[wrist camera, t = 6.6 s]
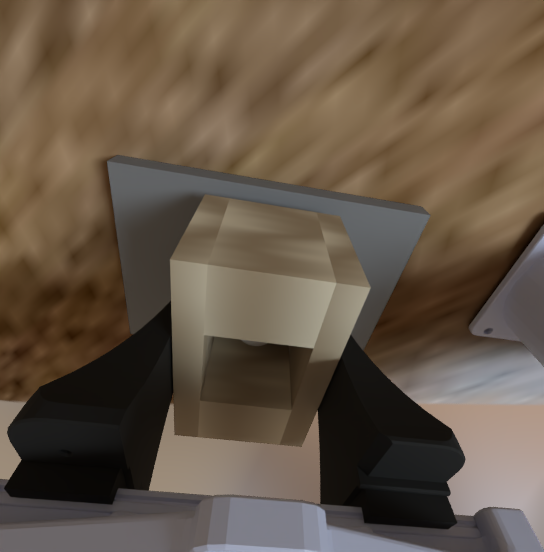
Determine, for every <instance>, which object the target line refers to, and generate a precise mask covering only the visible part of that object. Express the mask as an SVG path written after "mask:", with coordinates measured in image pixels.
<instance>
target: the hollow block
mask: <svg viewBox="0 0 544 552" xmlns="http://www.w3.org/2000/svg"><path fill="white" fill-rule="evenodd" d="M170 277H171V315H172V353H173V392H174V430H175V435H181V436H192V437H203V438H213V439H224V440H235V441H245V442H256V443H267V444H277V445H288V446H299V447H302V444H303V442H304V440H305V438H306V435H307V433H308V431H309V428H310V426H311V424H312V422H313V419H314V417H315V415H316V412H317V410H318V408H319V405H320V403H321V401H322V399H323V396H324V394H325V392H326V389H327V387H328V385H329V383H330V380H331V378H332V376H333V373H334V371H335V369H336V367H337V364H338V362H339V360H340V357H341V355H342V353H343V350H344V348H345V346H346V344H347V341H348V339H349V337H350V334H351V332H352V330H353V328H354V325H355V323H356V321H357V318H358V316H359V314H360V311H361V309H362V307H363V305H364V302H365V300H366V298H367V295H368V293H369V291H370V289H371V287H370V285H369V283H368V280H367V278H366V276H365V273H364V271H363V269H362V266H361V264H360V262H359V259H358V257H357V255H356V252H355V250H354V248H353V245H352V243H351V241H350V238H349V236H348V234H347V231H346V229H345V227H344V224H343V222H342V220H341V217H340V216H336V215H330V214H324V213H318V212H311V211H305V210H299V209H293V208H287V207H281V206H274V205H268V204H262V203H256V202H250V201H244V200H237V199H231V198H225V197H219V196H213V195H206V194H205V195H204V197H203V199H202V201H201V203H200V205H199V207H198V208H197V210H196V212H195V214H194V216H193V218H192V220H191V221H190V223H189V225H188V227H187V229H186V231H185V233H184V234H183V236H182V238H181V240H180V242H179V244H178V246H177V247H176V249H175V251H174V253H173V255H172V257H171V259H170ZM241 340H248V341H257V342H265V343H267V344H265V345H262V346H251V345H248V344H246V343H244V342H243V341H241Z"/></svg>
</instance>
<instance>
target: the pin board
mask: <svg viewBox="0 0 544 552" xmlns="http://www.w3.org/2000/svg"><path fill="white" fill-rule="evenodd" d="M107 165H108V173H109V180H110V187H111V195H112V202H113V209H114V217H115V224H116V231H117V239H118V246H119V253H120V261H121V268H122V275H123V283H124V290H125V298H126V305H127V312H128V320H129V327H130V334H135V333H136V332H137V331H138V330H140V329H141V328H142V327H143V326H144V325H145V324H147V323H148V322H149V321H150V320H151V319H152V318H153V317H155V316H156V315H157V314H158V313H159V312H160V311H161V310H162V309H163V308H164V307H165V306H166V305H167V304H168V303H169V302H170V301H171V277H170V259H171V257H172V255H173V253H174V251H175V249H176V247H177V246H178V244H179V242H180V240H181V238H182V236H183V234H184V233H185V231H186V229H187V227H188V225H189V223H190V221H191V220H192V218H193V216H194V214H195V212H196V210H197V208H198V207H199V205H200V203H201V201H202V199H203V197H204V195H205V194H206V195H213V196H219V197H225V198H231V199H237V200H244V201H250V202H256V203H262V204H268V205H274V206H281V207H287V208H293V209H299V210H305V211H311V212H318V213H324V214H330V215H336V216H340V217H341V220H342V222H343V224H344V227H345V229H346V231H347V234H348V236H349V238H350V241H351V243H352V245H353V248H354V250H355V252H356V255H357V257H358V259H359V262H360V264H361V266H362V269H363V271H364V273H365V276H366V278H367V280H368V283H369V285H370V287H371V289H370V291H369V293H368V295H367V298H366V300H365V302H364V305H363V307H362V309H361V311H360V314H359V316H358V318H357V321H356V323H355V325H354V328H353V330H352V332H351V335H352V336H353V338H354V339H355V341H356V342H357V343H358V345H359V346H360V347H361V349H362V350H364V348H365V346H366V344H367V342H368V340H369V338H370V336H371V334H372V332H373V330H374V328H375V326H376V324H377V322H378V320H379V318H380V316H381V314H382V312H383V310H384V308H385V306H386V304H387V302H388V300H389V298H390V296H391V294H392V292H393V290H394V288H395V286H396V284H397V282H398V280H399V278H400V276H401V274H402V272H403V270H404V268H405V266H406V264H407V262H408V260H409V258H410V255H411V253H412V251H413V249H414V247H415V245H416V243H417V241H418V239H419V237H420V235H421V233H422V231H423V229H424V227H425V225H426V223H427V221H428V219H429V217H430V214H429V213H428V212H427V211H426V210H425V209H424V208H423V207H421V206H415V205H409V204H403V203H397V202H391V201H386V200H380V199H374V198H368V197H362V196H356V195H350V194H344V193H338V192H333V191H327V190H321V189H315V188H309V187H303V186H297V185H291V184H285V183H279V182H274V181H268V180H262V179H256V178H250V177H244V176H238V175H232V174H226V173H221V172H215V171H209V170H203V169H197V168H191V167H185V166H179V165H173V164H167V163H162V162H156V161H150V160H144V159H138V158H132V157H126V156H120V155H116V156H115V157H113V158H111V159H110V160H108V161H107ZM241 341H243V342H244V343H246V344H248V345H251V346H262V345H265V344H267V343H265V342H257V341H248V340H241Z"/></svg>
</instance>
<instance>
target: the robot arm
mask: <svg viewBox="0 0 544 552" xmlns="http://www.w3.org/2000/svg"><path fill="white" fill-rule="evenodd" d="M469 330H470V332H471V333H472V334H473V335H476V336H484V337H491V338H499V339H506V340H514V341H521V342H522V343H523V344H524V345H525V346H526V347H527V348H528V350H529V351H530V352H531V353H532V354H533V355H534V356H535V357H536V359H537V360H538V361H539V362H540V363H541V364H542V365H543V367H544V225H543V226H542V227H541V229H540V230H539V232H538V233H537V234H536V236H535V237H534V238H533V240H532V241H531V242H530V244H529V245H528V246H527V248H526V249H525V251H524V252H523V253H522V255H521V256H520V257H519V259H518V260H517V261H516V263H515V264H514V265H513V267H512V268H511V270H510V271H509V272H508V274H507V275H506V276H505V278H504V279H503V280H502V282H501V283H500V284H499V286H498V287H497V289H496V290H495V291H494V293H493V294H492V295H491V297H490V298H489V299H488V301H487V302H486V304H485V305H484V306H483V308H482V309H481V310H480V312H479V313H478V314H477V316H476V317H475V318H474V320H473V321H472V323H471V324H470V325H469ZM172 395H173V353H172V315H171V301H170V302H169V303H168V304H167V305H166V306H165V307H164V308H163V309H162V310H161V311H160V312H159V313H158V314H157V315H156V316H155V317H153V318H152V319H151V320H150V321H149V322H148V323H147V324H145V325H144V326H143V327H142V328H141V329H140V330H138V331H137V332H136V333H135V334H133V335H132V336H131V337H129V338H128V339H127V340H125V341H124V342H123V343H121V344H120V345H118V346H117V347H115V348H114V349H112V350H111V351H109V352H108V353H106V354H104V355H103V356H101V357H99V358H98V359H96V360H94V361H92V362H91V363H89V364H87V365H85V366H83V367H81V368H80V369H78V370H76V371H74V372H72V373H70V374H68V375H65V376H63V377H61V378H59V379H57V380H54V381H52V382H50V383H48V384H45V385H43V386H41V387H39V389H38V390H37V391H36V392H35V393H34V394H33V395H32V397H31V398H30V399H29V400H28V401H27V403H26V404H25V405H24V407H23V408H22V409H21V411H20V412H19V413H18V415H17V416H16V417H15V419H14V420H13V422H12V423H11V424H10V426H9V427H8V431H7V434H8V437H9V440H10V442H11V443H12V445H13V447H14V448H15V450H16V451H17V453H18V454H19V456H20V457H21V459H22V460H21V462H20V463H19V465H18V467H17V468H16V470H15V471H14V473H13V474H12V476H11V477H10V479H9V480H5V479H0V552H544V549H543V547H542V545H541V544H540V542H539V540H538V538H537V536H536V535H535V533H534V531H533V529H532V527H531V526H530V524H529V522H528V520H527V518H526V516H525V515H524V513H523V511H521V510H520V509H510V508H498V507H488V508H483V509H481V510H479V511H478V512H477V513H476V514H475V515H474V516H465V515H454V513H453V510H452V508H451V505H450V503H449V500H448V498H447V496H449V495H450V489H449V487H448V484H447V481H448V480H449V479H450V478H451V477H453V476H454V475H455V474H456V473H457V472H458V471H459V470H460V469H461V468H462V467H463V465H464V463H465V456H464V454H463V451H462V450H461V447H460V445H459V443H458V441H457V439H456V437H455V435H454V433H453V431H452V429H451V428H449V427H448V426H446V425H445V424H443V423H442V422H441V421H439V420H438V419H436V418H435V417H433V416H432V415H431V414H429V413H428V412H427V411H425V410H424V409H422V408H421V407H420V406H419V405H418V404H416V403H415V402H414V401H413V400H411V399H410V398H409V397H408V396H407V395H406V394H404V393H403V392H402V391H401V390H400V389H399V388H398V387H397V386H396V385H395V384H393V383H392V382H391V381H390V380H389V379H388V378H387V377H386V376H385V375H384V374H383V373H382V372H381V371H380V369H379V368H378V367H377V366H376V365H375V364H374V363H373V362H372V361H371V360H370V358H369V357H368V356H367V355H366V354H365V352H364V351H363V350H362V349H361V347H360V346H359V345H358V343H357V342H356V341H355V339H354V338H353V336H352V335H351V334H350V337H349V339H348V341H347V344H346V346H345V348H344V350H343V353H342V355H341V357H340V360H339V362H338V364H337V367H336V369H335V371H334V373H333V376H332V378H331V380H330V383H329V385H328V387H327V389H326V392H325V394H324V396H323V399H322V401H321V403H320V405H319V408H318V420H319V421H318V423H319V442H320V483H321V484H320V491H321V492H320V494H321V496H320V497H321V498H320V499H321V502H320V504H315V503H313V502H307V501H303V500H292V499H279V498H266V497H255V496H241V495H214V496H210V495H197V494H184V493H172V492H159V491H149V486H150V482H151V478H152V473H153V469H154V465H155V461H156V457H157V452H158V448H159V444H160V440H161V436H162V432H163V429H164V425H165V421H166V417H167V413H168V409H169V406H170V402H171V398H172Z"/></svg>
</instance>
